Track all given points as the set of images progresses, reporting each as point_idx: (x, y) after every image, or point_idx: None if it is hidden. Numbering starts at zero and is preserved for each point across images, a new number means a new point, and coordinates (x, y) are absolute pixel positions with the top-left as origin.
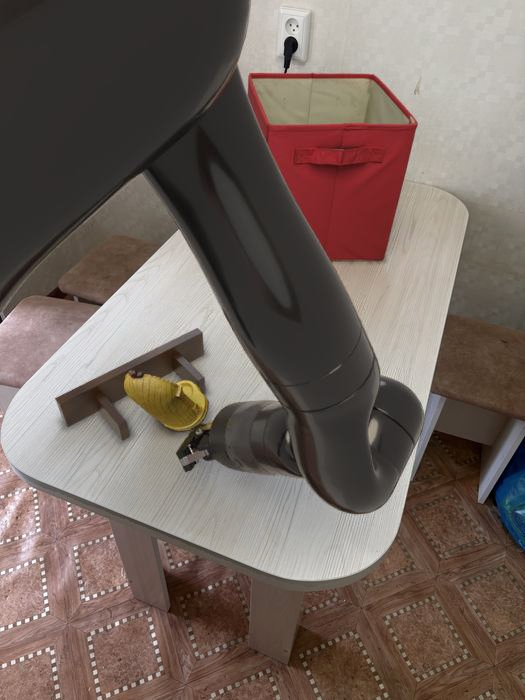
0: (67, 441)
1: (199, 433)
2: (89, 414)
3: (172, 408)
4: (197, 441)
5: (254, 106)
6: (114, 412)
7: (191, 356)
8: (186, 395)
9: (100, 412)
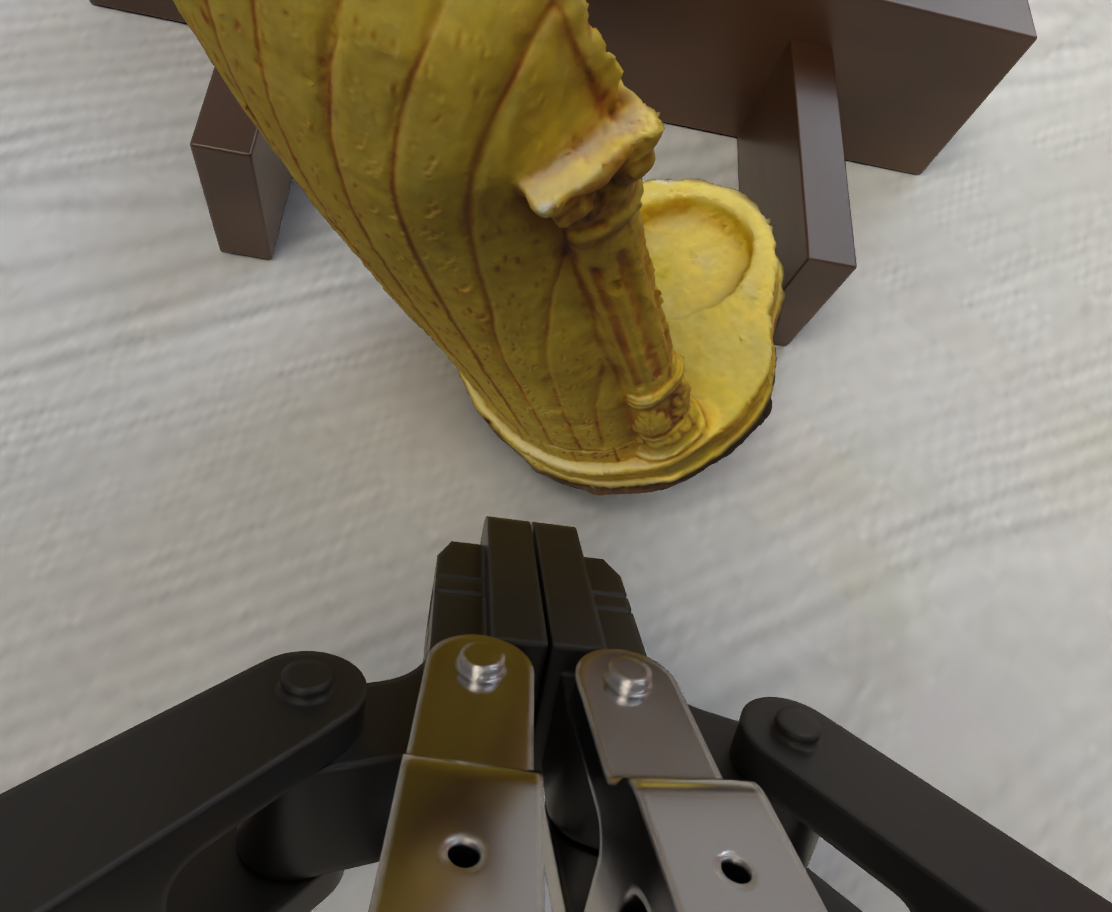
0: (15, 58)
1: (408, 751)
2: None
3: (450, 283)
4: (331, 800)
5: None
6: None
7: (865, 133)
8: (648, 272)
9: None
